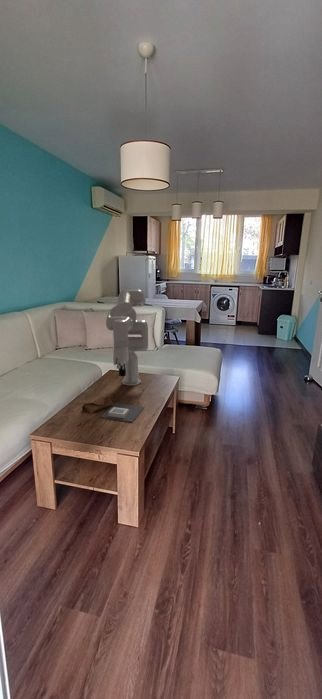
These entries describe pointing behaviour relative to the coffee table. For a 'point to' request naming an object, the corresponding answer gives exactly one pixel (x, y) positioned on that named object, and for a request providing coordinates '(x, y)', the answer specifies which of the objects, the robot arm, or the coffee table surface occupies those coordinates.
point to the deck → (118, 412)
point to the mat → (132, 414)
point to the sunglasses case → (97, 405)
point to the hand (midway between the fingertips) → (122, 375)
